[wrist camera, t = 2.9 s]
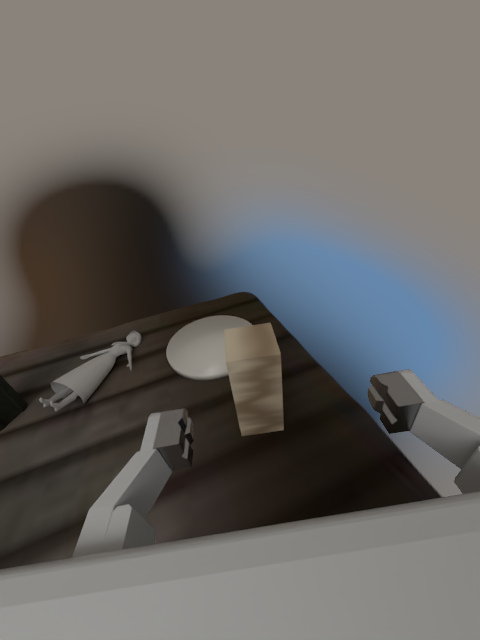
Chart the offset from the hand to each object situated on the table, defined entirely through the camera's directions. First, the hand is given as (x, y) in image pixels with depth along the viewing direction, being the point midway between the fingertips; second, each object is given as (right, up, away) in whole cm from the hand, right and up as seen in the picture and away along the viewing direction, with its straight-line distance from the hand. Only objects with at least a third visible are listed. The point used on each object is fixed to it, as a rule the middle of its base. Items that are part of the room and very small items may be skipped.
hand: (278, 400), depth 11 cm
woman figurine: (-24, -6, +31) cm, 40 cm away
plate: (-6, -1, +33) cm, 33 cm away
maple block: (+1, -8, +20) cm, 22 cm away
